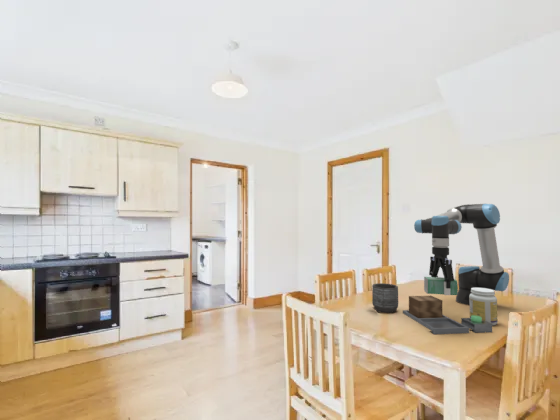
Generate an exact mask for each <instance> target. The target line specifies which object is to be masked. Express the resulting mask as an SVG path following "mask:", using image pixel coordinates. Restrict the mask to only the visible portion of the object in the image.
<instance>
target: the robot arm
mask: <svg viewBox="0 0 560 420" xmlns="http://www.w3.org/2000/svg"><path fill="white" fill-rule="evenodd" d="M500 220H501V215H500V210H499V208H498V207H497V206H496V205H495V204H493V203H476V204H475V203H474V204H473V203H472V204H470V203H469V204H461V205H459V206H458V205H457V206H454V207H451V208H449V209H447V211H445V212H444V213H441V214H437V215H432V216H431V217H428V218H426V219H417V220H416V221H414V225H413V226H414V231H415V232H416V233H418V234H431V245H432V247H431V254H432V255H434V256H430V264H429V272H428V274H429V276H430V277H439V276H438V275H439V271H440V269H441V271H442V275H443V278H445V280H444V296H451V295H450V288H451V281H454V279H455V278H454V276H455V275H454V271H453V260H452V259H449V258H448V256H449V255H450V235H457V234H458V233H460V232H461V231H462V228H463V227H462V224H470V225H471V224H472V225H473V228H474V229H475V230H476V231H477V232H476V233H477V239H478V245H479V251H480V255H481V262H482V266H481V267H480V266H478V265H477V266H476V265H471V266H470V265H468V266H467V265H466V266H460V267H459V268H458V274H457V275H458V293H457V295H455V301H456V302H457V303H459V304H463V305H467V306H469V295H470V294H471V293H472V292H471V288H487V289H492V290H494V291H495V292H504V291H506V290H507V288H508V286H509V282H510V274H509V273H508V272H507V271H505V270H504V269H505V268H504V267H503V266H501V263H500V257H499V250H498V245H497V238H496V233H495V232H496V231H495V228H497V226H498V224H499V223H500Z"/></svg>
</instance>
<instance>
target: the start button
mask: <svg viewBox="0 0 560 420" xmlns="http://www.w3.org/2000/svg"><path fill="white" fill-rule="evenodd" d="M471 321H473V322H475V323H482V317H480V316H476V315H471Z"/></svg>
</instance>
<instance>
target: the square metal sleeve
mask: <svg viewBox="0 0 560 420" xmlns="http://www.w3.org/2000/svg"><path fill="white" fill-rule="evenodd" d="M460 321H461V322H460V323H461V324H463V325H465V326H467V327H469V332H472V333H474V334H479V333H481V334H482V333H485V332H486V333H493V326H492V323H489V322H487V321H485V320H482V323H475V322H473V321H471V318H470V317H461V319H460ZM486 333H485V334H486Z"/></svg>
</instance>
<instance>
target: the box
mask: <svg viewBox="0 0 560 420" xmlns="http://www.w3.org/2000/svg"><path fill="white" fill-rule="evenodd" d="M444 280H445V278H444V277H441V276H438V277H431V276H423V290H424V292H425V293H426V294H427V295H428V294H429V295H430V294H431V295H442V296H443V295H444ZM458 290H459V283H458V280H456V279H455V278H454V281H451V288H450V295H449V296H457V293H458ZM444 296H445V295H444Z"/></svg>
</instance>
